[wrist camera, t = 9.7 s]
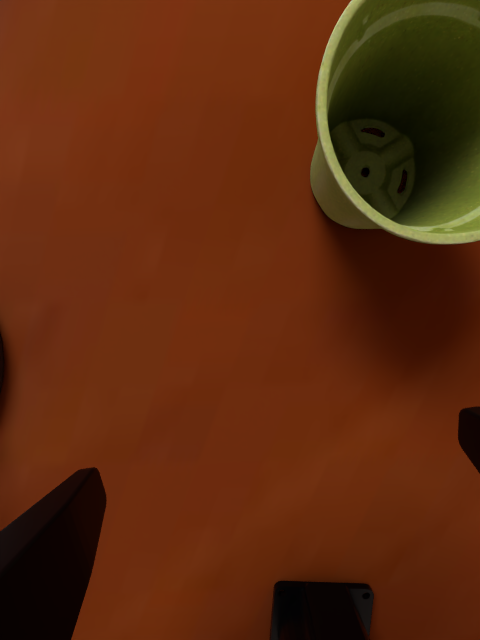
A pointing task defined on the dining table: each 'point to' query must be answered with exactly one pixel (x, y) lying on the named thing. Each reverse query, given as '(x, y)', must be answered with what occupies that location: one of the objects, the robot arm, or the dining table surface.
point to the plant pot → (402, 120)
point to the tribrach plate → (1, 363)
